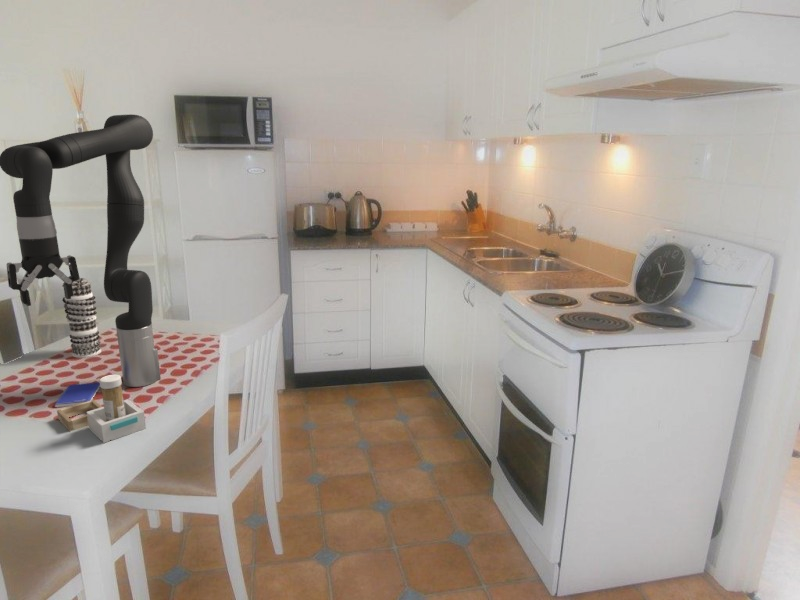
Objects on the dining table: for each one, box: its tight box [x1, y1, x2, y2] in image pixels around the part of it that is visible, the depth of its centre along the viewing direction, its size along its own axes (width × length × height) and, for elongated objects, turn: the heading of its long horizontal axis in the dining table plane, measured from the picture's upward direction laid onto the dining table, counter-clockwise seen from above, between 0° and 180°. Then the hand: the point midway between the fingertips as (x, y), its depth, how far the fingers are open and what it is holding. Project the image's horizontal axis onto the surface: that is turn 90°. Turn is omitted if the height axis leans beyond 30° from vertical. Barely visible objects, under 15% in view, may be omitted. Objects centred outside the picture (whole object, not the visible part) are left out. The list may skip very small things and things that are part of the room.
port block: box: [86, 399, 147, 444], centre depth 134 cm, size 10×10×4 cm
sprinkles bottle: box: [99, 374, 126, 421], centre depth 133 cm, size 5×5×13 cm
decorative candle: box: [61, 277, 102, 359], centre depth 179 cm, size 9×9×25 cm
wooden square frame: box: [56, 399, 103, 432], centre depth 139 cm, size 9×9×2 cm
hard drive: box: [54, 382, 101, 408], centre depth 152 cm, size 2×8×12 cm
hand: (48, 301), depth 133 cm, fingers open, 8 cm apart
